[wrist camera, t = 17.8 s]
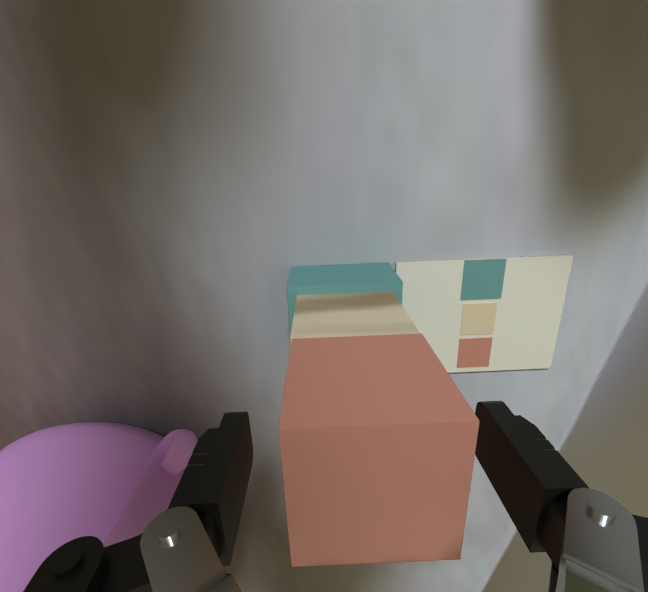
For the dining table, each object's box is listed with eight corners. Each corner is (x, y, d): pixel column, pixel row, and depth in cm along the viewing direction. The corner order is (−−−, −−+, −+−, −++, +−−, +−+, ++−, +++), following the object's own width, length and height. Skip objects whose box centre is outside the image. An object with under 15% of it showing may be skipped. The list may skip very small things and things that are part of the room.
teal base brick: (291, 266, 22) (286, 286, 18) (387, 262, 22) (403, 281, 18) (297, 352, 24) (294, 386, 20) (385, 348, 24) (399, 381, 20)
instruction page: (395, 262, 22) (396, 263, 21) (571, 254, 22) (574, 255, 21) (392, 373, 24) (393, 375, 24) (548, 366, 24) (550, 368, 24)
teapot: (29, 286, 22) (-399, 454, 9) (298, 459, 27) (281, 729, 14) (-97, 491, 27) (-479, 786, 14) (148, 603, 32) (33, 897, 19)
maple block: (297, 295, 18) (290, 338, 13) (393, 291, 18) (420, 333, 13) (301, 378, 20) (297, 442, 15) (389, 375, 20) (413, 438, 15)
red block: (292, 338, 13) (278, 429, 9) (421, 333, 13) (479, 421, 9) (299, 442, 15) (291, 566, 10) (415, 438, 15) (459, 559, 10)
